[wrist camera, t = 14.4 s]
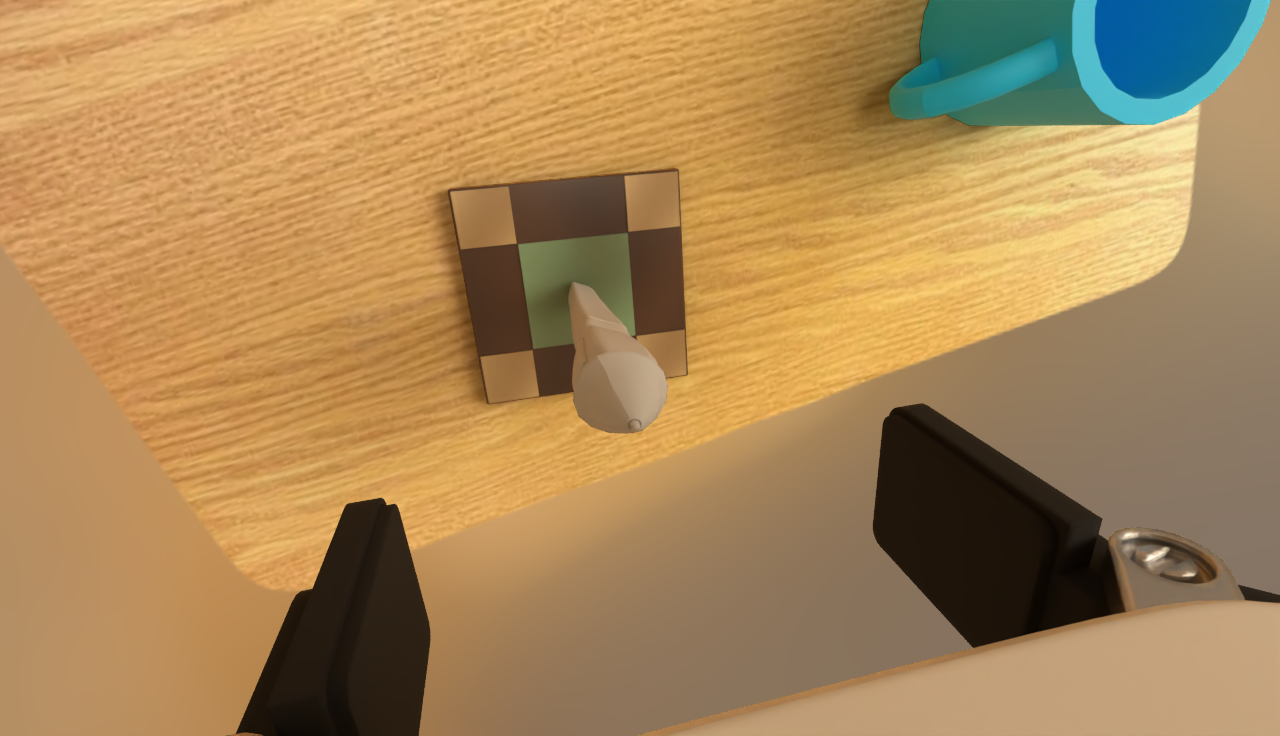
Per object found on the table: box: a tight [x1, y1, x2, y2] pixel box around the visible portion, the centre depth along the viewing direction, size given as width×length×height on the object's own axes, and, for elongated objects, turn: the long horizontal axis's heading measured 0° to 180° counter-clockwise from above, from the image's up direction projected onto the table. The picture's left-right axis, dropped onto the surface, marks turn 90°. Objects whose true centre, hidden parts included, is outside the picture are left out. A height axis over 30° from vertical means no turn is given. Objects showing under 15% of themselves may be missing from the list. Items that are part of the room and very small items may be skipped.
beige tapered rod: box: [568, 282, 668, 434], centre depth 21 cm, size 2×3×14 cm
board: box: [448, 168, 688, 404], centre depth 28 cm, size 10×10×1 cm
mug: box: [889, 0, 1271, 126], centre depth 24 cm, size 12×8×8 cm
